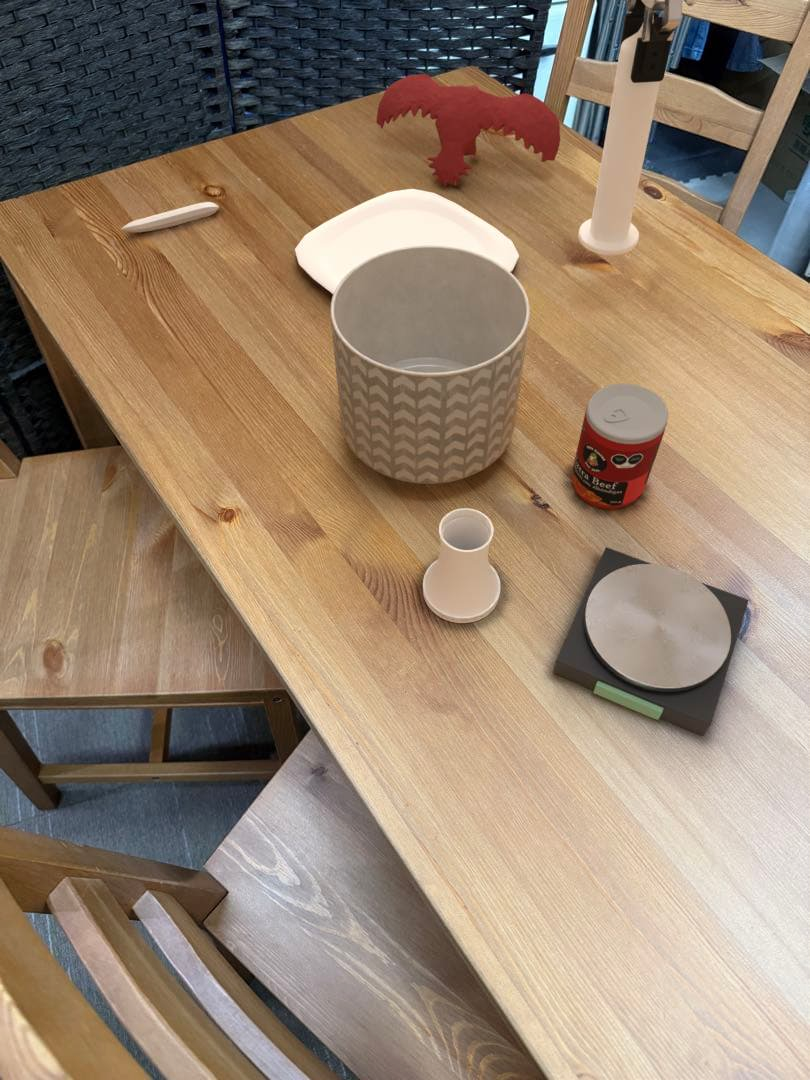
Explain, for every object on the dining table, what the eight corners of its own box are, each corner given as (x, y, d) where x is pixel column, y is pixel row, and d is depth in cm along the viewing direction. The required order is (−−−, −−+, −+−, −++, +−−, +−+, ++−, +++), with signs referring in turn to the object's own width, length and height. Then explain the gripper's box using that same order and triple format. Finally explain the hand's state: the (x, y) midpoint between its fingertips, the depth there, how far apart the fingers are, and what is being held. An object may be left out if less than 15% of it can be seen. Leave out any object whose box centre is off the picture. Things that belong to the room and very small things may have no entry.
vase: (515, 590, 84) (526, 529, 76) (462, 637, 81) (468, 579, 73) (459, 546, 87) (464, 483, 79) (406, 589, 84) (406, 529, 76)
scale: (741, 612, 82) (753, 592, 79) (701, 741, 74) (713, 724, 72) (601, 560, 86) (608, 539, 83) (550, 677, 78) (555, 659, 75)
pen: (121, 234, 119) (118, 223, 117) (217, 207, 122) (215, 197, 121) (124, 240, 118) (121, 229, 117) (221, 213, 121) (219, 202, 120)
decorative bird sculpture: (543, 217, 127) (573, 111, 124) (534, 203, 119) (566, 89, 115) (370, 178, 134) (394, 76, 131) (350, 162, 125) (374, 53, 122)
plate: (274, 257, 115) (272, 246, 114) (413, 186, 125) (413, 175, 124) (397, 352, 104) (397, 341, 103) (540, 265, 114) (542, 254, 112)
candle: (644, 228, 103) (696, 0, 83) (628, 261, 99) (678, 30, 79) (588, 215, 105) (625, -11, 85) (570, 247, 101) (604, 18, 81)
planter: (328, 492, 91) (311, 364, 77) (358, 370, 102) (349, 237, 88) (506, 511, 90) (524, 384, 75) (517, 384, 101) (535, 252, 86)
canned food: (555, 480, 92) (570, 407, 83) (605, 444, 95) (625, 370, 86) (609, 523, 88) (630, 452, 79) (659, 485, 91) (685, 412, 82)
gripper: (758, -126, 67) (699, 108, 81) (700, -190, 77) (657, 28, 91) (663, -121, 66) (621, 112, 81) (617, -186, 77) (587, 32, 91)
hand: (640, 66), depth 86 cm, fingers closed on candle, 4 cm apart
